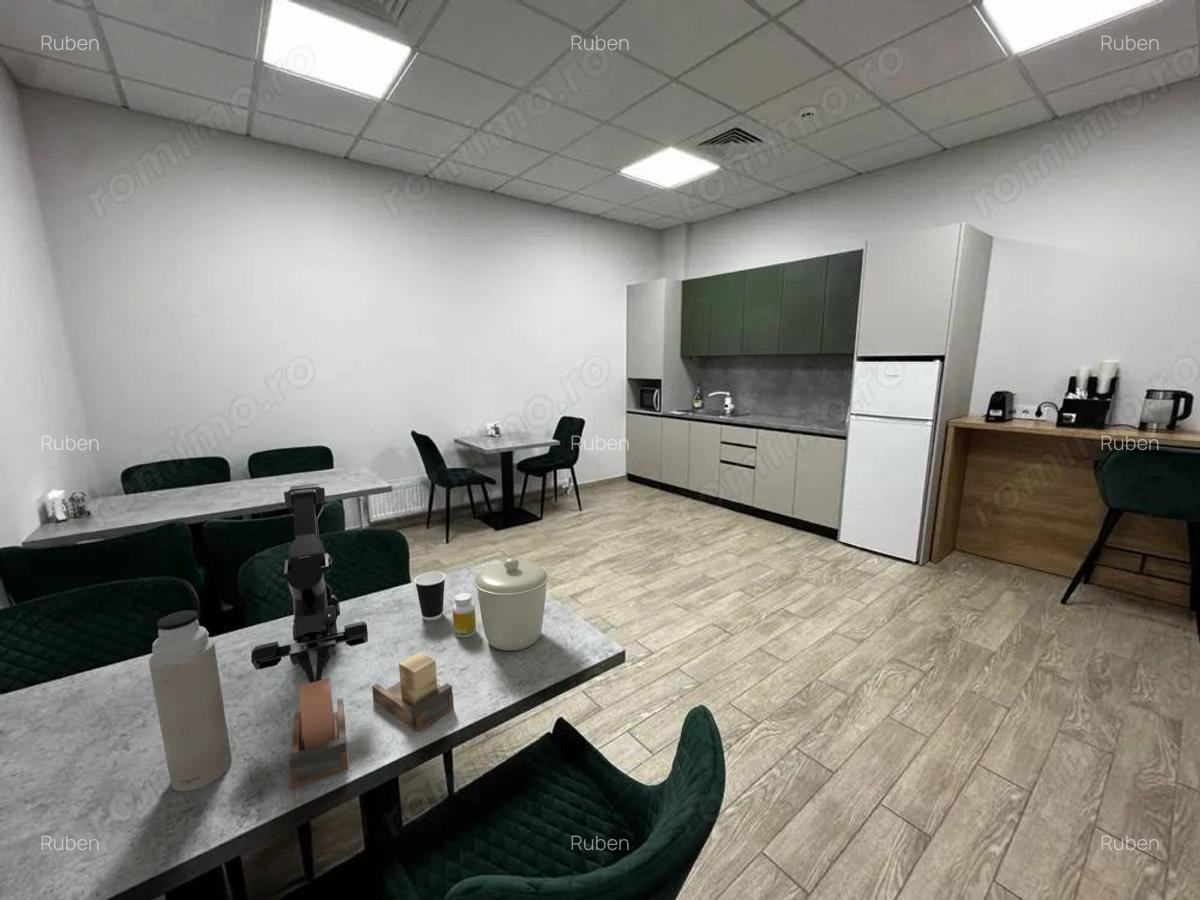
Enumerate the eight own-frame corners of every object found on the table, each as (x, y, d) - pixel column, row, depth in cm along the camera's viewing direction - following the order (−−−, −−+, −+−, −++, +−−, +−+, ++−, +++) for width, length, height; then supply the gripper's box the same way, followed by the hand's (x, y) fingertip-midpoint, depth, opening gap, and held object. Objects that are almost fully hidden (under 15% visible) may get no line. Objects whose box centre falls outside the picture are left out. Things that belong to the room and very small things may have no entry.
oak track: (373, 701, 98) (371, 679, 98) (408, 680, 105) (407, 659, 104) (418, 733, 90) (416, 709, 89) (453, 708, 96) (452, 686, 95)
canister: (564, 644, 118) (562, 562, 115) (493, 670, 108) (489, 581, 105) (530, 613, 133) (528, 539, 129) (465, 633, 123) (461, 554, 119)
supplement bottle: (469, 639, 121) (468, 602, 119) (449, 636, 122) (447, 600, 120) (479, 627, 126) (477, 592, 124) (460, 625, 127) (458, 590, 125)
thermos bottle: (157, 793, 77) (127, 631, 72) (194, 754, 85) (169, 605, 80) (211, 790, 78) (184, 629, 73) (242, 751, 86) (221, 603, 81)
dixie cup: (453, 616, 132) (451, 577, 130) (424, 626, 126) (422, 587, 124) (439, 605, 137) (437, 568, 135) (411, 615, 132) (409, 577, 130)
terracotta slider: (305, 731, 89) (300, 685, 87) (334, 722, 91) (329, 677, 89) (305, 749, 84) (299, 702, 83) (335, 739, 87) (330, 693, 85)
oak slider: (402, 705, 95) (398, 663, 94) (422, 693, 99) (419, 651, 97) (417, 716, 92) (414, 672, 91) (438, 702, 96) (435, 660, 95)
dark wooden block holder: (296, 729, 91) (293, 705, 90) (344, 714, 95) (341, 691, 94) (292, 789, 78) (289, 762, 77) (348, 769, 82) (345, 743, 81)
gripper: (245, 606, 86) (245, 698, 78) (362, 582, 95) (372, 664, 88) (256, 626, 94) (257, 712, 87) (363, 603, 103) (372, 679, 96)
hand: (316, 691), depth 89 cm, fingers closed, pressing on terracotta slider
